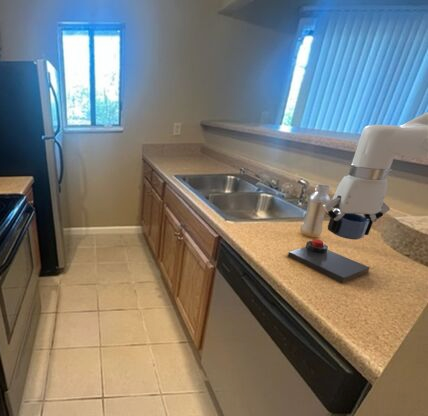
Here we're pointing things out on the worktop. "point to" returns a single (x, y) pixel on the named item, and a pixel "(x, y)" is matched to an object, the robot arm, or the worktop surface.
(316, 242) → the button
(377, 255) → the worktop surface
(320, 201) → the silver bottle
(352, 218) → the cup
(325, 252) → the scale
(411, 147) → the robot arm
